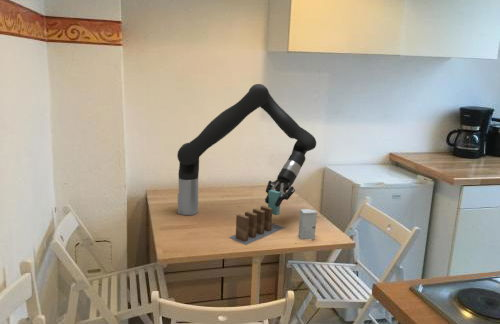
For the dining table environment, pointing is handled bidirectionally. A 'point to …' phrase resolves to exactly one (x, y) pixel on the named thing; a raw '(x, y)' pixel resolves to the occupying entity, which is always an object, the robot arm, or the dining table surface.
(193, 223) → the dining table surface
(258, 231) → the domino
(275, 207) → the domino
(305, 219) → the skincare box
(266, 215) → the domino
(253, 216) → the domino
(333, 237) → the dining table surface
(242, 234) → the domino
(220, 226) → the dining table surface
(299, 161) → the robot arm
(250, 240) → the domino mat
